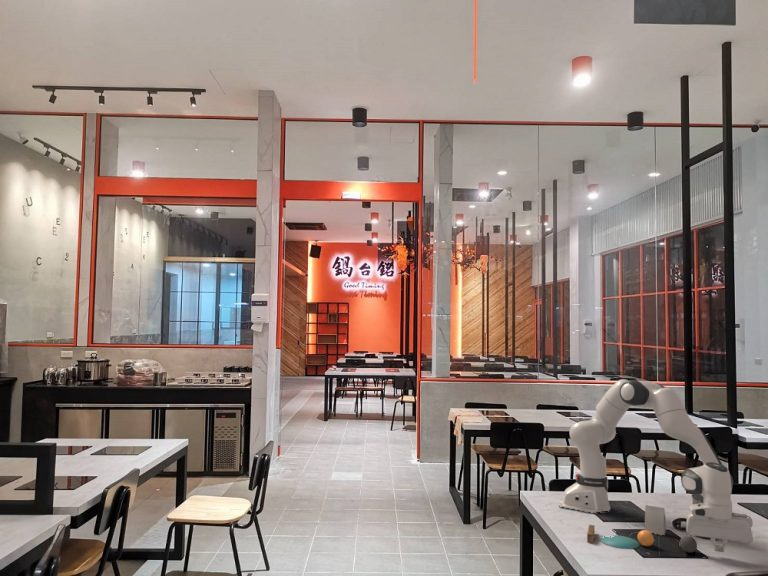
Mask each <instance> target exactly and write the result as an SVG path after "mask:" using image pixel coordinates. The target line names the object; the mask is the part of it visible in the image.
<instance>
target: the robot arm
mask: <svg viewBox="0 0 768 576" xmlns="http://www.w3.org/2000/svg"><path fill="white" fill-rule="evenodd" d="M631 406H632V407H634V406H635V407H638V408H643V409H646V408H647V409H649V408H650V409H652V410H653V411H654V414H655V417H656V420H657V422H658V424H659V427H660V429H661V430H662V431H663V432H664V434H665V435H667V436H668V437H670V438H672V439H675V440H678V441H681V442H684V443H686V444H688V445H690V446H691V447H692V448H693V449H694V451H696V453H697V455H698V457H699V458H700V460H701V462H702V464H703V465H700V466H695V467H690V468H685V469H684V470H683V471H682V473H681V476H680V481H681V486H682V487H683V489H684V491H685V492H687V493H688V494H690V495H692V494H693V495H702V496H703V498H704V500H703V503H699V504H693V503H692V504H690V505H689V513H688V514H687V517H686V519H687V522H685V525H686V526H685V527H686V531H685V532H686V533H687V534H688V536H695V537H697V536H702V537H709V538H710V540H709V541H711V543H712V545H713V549H714V552H718V553H719V552H720V553H725V548H726V546H727V545H728V543H729V542H728V541H733V542H738V543H739V542H741V543H747V544H751V543H753V532H752V527H753V526H754V525H753V518H752V517H751V516H750V515H748V514H746V513H738V512H733V502H732V498H731V496H732V495H731V494H732V491H733V490H732V489H733V485H734V480H733V476H732V475H731V473H730V470H729V468H728V467H727V466H725V465H724V464H723V463H722V462H721V459H720V458H719V456H718V454H717V452H716V451H715V450H714V448H713V446H712V444H711V443H710V441H709V439H708V438H707V435H706V434H705V433H704V432H703V430H702V429H701V428H699V426H697V425H696V424H695V423H694V422H693V421H692V419H691V418H690V416H689V414H688V412H687V409H686V408H685V406H684V403H683V402H682V400H681V398H680V396H679V395H678V394H677V393H676V391H675V390H674V389H672V388H669V387H665V386H664V385H662V384H660V383H657V382H652V381H647V380H637V379H629V380H628V379H624V378H623V379H619V380H617V381H616V382H615V383H614V384H613V385H612V386H610V388H609V389H608V390H607V391H606V393H604V395H603V396H602V398H601V399H600V401H599V402H597V405H596V406H595V411H596V412H595V416H594V417H593V418H591V419H589V420H581V421H579V422H576V423H574V424H572V425H571V427H570V428H569V431H568V432H569V438H570V440H571V441H572V443H574V444H575V446H576V449H577V451H578V454H579V464H580V466H579V467H580V470H579V471H580V472H579V473H578V472H577V473H576V474H575V475H574V476H575V482H574V483H573V484H572V485H570V486H568V487H566V488H565V490H564V492H563V496H562V498H560V499H558V502H557V505H558V504H559V506H561V507H565V508H564V509H566V508H569V509H568V510H571V509H575V510H574V511H577V510H580V511H579V512H582V511H585V512H584V513H587V512H592V513H591V514H593V513H595V514H597V513H596V512H600V513H602V512H601V511H608V512H610V511H611V510H610V509H612V508H611V506H610V501H609V495H608V489H609V480H608V477H607V460H606V457H605V456H604V455H602V452H601V449H600V445H602V444H603V445H604V444H607V443H610V442H611V441H612V440H614V439H615V437H616V435H617V430H616V429H617V428H616V427H618V426H617V425H618V423H619V421H621V419H622V417H624V415H625V414H626V412H627V411H628V410H629V408H630V407H631ZM559 506H558V507H559ZM561 507H560V508H561ZM609 510H610V511H609ZM715 538H716V540H721V541H722V544H721V545H720V544H719V545H718V544H716V543H715V542H716V540H715Z"/></svg>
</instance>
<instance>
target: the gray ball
mask: <svg viewBox="0 0 768 576" xmlns="http://www.w3.org/2000/svg"><path fill="white" fill-rule="evenodd" d="M679 546H680V547H681V549H682V550H683V551H685V552H686V553H688V554H689V553H690V554H692V553H694V552H696V550H697V549H698V543H697V540H696V539H694V537H692V536H691V535H685V536H683V537H681V538H680V540H679Z"/></svg>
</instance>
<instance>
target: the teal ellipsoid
mask: <svg viewBox="0 0 768 576" xmlns="http://www.w3.org/2000/svg"><path fill="white" fill-rule="evenodd" d="M612 535H613V536H614V535H615V536H614V537H612V538H611V536H610V538H609V537H605V536H604V535H601V536H600V537H601V538H600V537H599V539H600V540H599V541H600V542H601V543H602V544H604V545H606V546H609V547H612V548H616V549H625V550H626V549H627V550H631V549H633V550H634V549H637V547H638V548H640V546H641V545H640V544H641V543H640V542H639V541H638V540H636V539H635V538H631V537H628V536H626V535H625V536H624V535H617V534H612ZM603 536H604V538H602V537H603Z"/></svg>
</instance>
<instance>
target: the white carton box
mask: <svg viewBox="0 0 768 576" xmlns="http://www.w3.org/2000/svg"><path fill="white" fill-rule="evenodd" d="M644 507H645V509H644V530H647V531H649V532H650V533H651V534H652V533H654V534H653V535H657V534H658V536H662V535H664V536H665V535H666V534H665V533H666V532H667V531H666V527H667V526H666V514H665V508H664V507H658V506H654V505H648V504H646V505H645V506H644Z"/></svg>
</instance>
